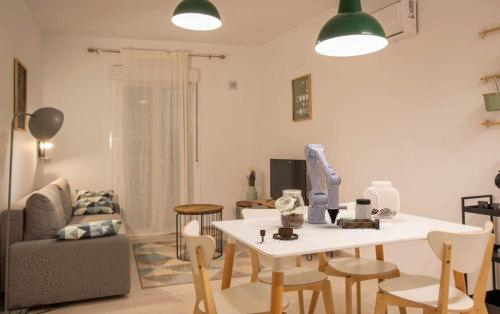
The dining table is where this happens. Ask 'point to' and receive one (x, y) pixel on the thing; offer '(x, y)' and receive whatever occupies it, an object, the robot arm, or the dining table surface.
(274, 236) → the place setting
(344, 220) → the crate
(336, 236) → the dining table surface
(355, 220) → the wooden tray
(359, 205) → the jar
